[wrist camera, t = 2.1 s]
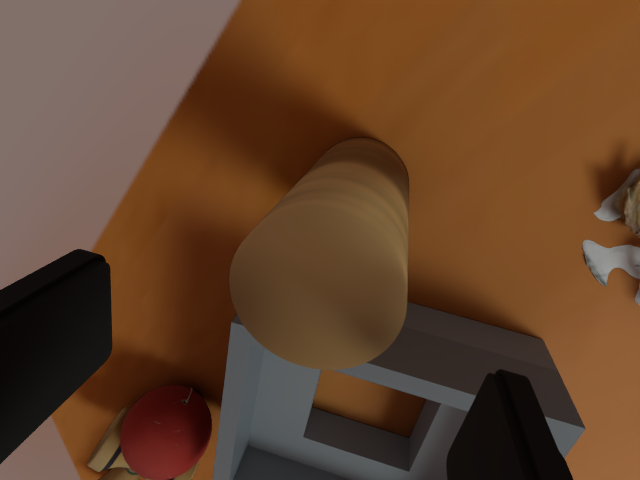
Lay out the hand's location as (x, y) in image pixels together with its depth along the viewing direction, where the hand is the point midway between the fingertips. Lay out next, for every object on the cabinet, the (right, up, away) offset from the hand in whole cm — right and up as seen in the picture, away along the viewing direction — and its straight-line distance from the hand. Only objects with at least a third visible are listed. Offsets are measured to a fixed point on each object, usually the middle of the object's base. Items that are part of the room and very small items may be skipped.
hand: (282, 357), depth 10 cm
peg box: (+4, -7, +16) cm, 18 cm away
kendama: (-13, -13, +24) cm, 30 cm away
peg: (+3, +6, +11) cm, 13 cm away
